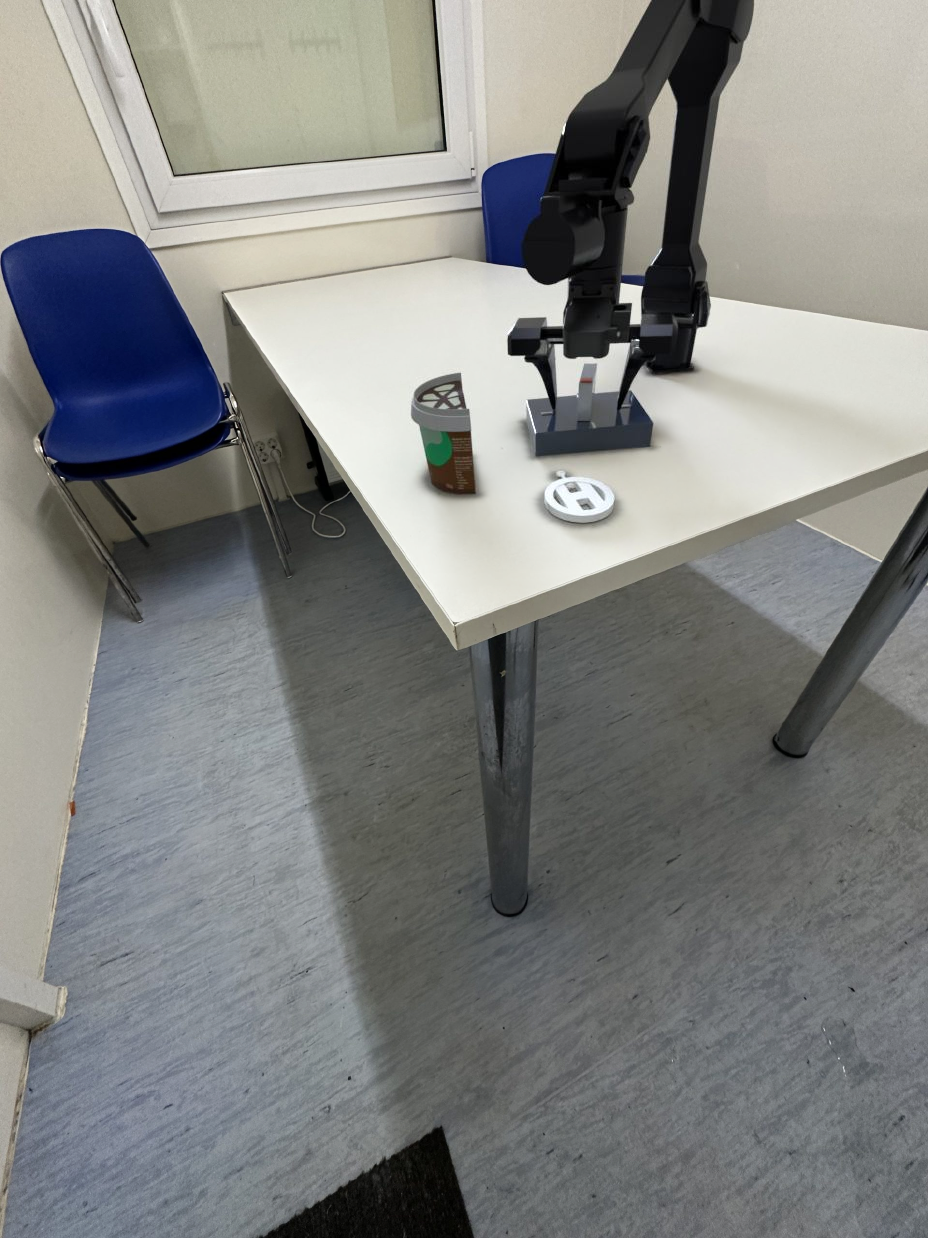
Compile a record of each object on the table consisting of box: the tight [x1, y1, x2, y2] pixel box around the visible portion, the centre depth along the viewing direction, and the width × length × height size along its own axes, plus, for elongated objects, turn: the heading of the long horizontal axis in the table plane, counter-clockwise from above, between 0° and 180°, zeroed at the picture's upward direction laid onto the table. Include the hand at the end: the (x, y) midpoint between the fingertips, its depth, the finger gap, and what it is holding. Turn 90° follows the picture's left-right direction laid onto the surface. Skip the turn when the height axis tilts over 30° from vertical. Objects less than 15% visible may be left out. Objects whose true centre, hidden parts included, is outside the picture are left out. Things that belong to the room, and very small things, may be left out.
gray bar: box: [577, 362, 598, 421], centre depth 67 cm, size 7×2×5 cm, turn 166°
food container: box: [410, 371, 477, 495], centre depth 62 cm, size 12×6×10 cm, turn 5°
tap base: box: [525, 389, 654, 457], centre depth 70 cm, size 14×11×3 cm
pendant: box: [543, 470, 615, 524], centre depth 59 cm, size 7×11×1 cm, turn 12°
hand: (585, 408), depth 69 cm, fingers open, 8 cm apart
